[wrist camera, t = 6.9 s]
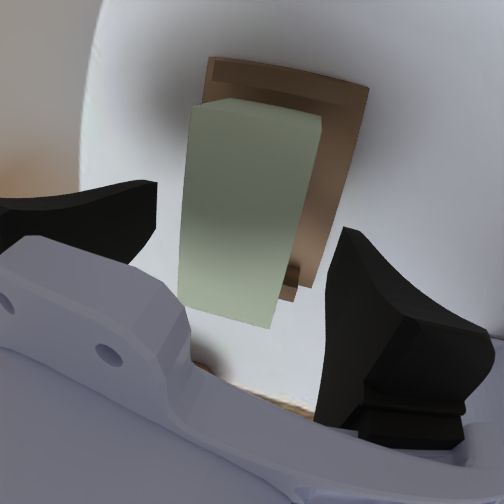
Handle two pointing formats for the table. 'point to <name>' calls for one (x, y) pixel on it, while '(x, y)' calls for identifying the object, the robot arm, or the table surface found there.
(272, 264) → the pale green block
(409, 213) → the table surface
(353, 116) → the peg frame
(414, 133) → the table surface
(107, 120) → the table surface
